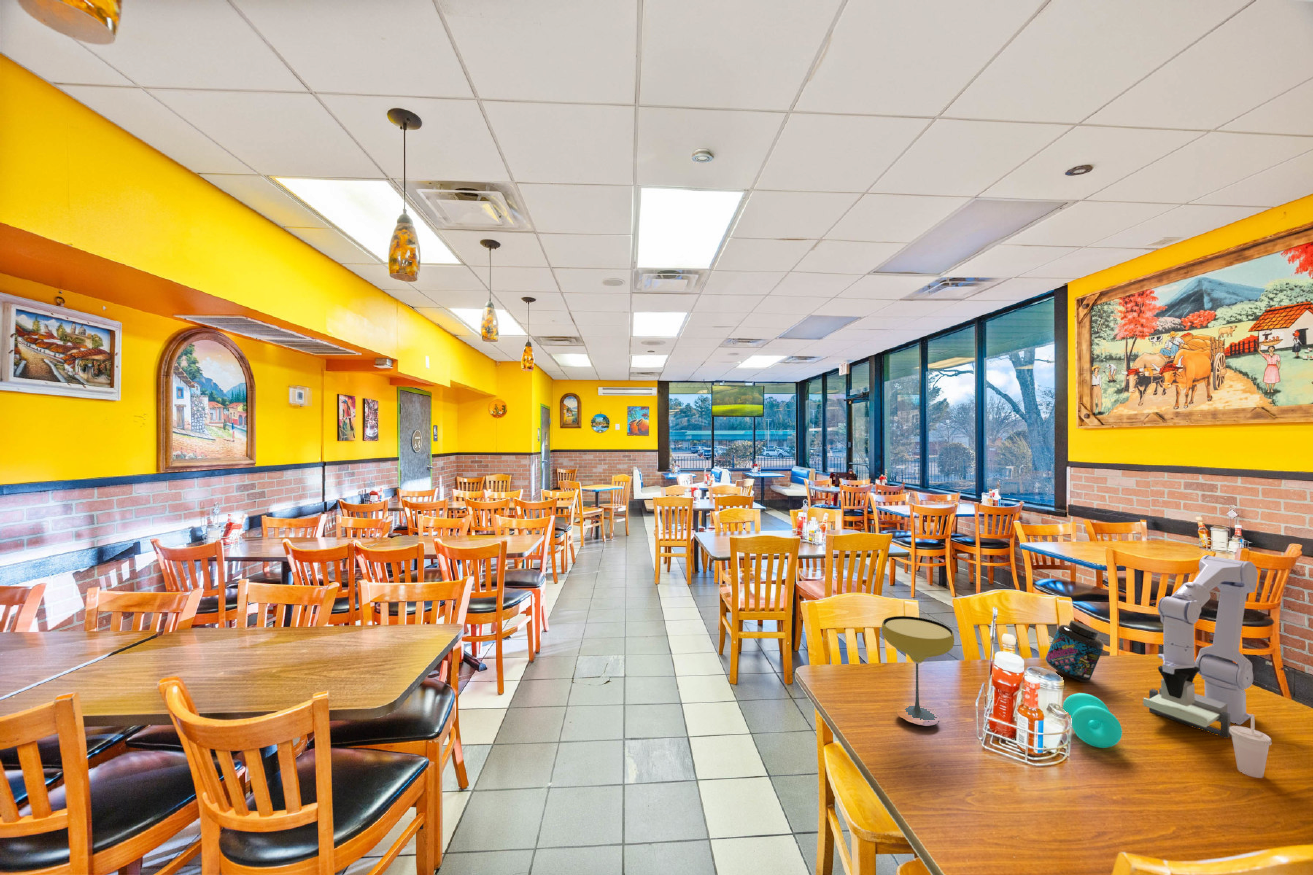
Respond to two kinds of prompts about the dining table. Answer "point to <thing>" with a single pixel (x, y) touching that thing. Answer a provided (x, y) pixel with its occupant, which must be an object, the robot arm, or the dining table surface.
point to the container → (1075, 650)
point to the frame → (1224, 724)
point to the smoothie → (1250, 749)
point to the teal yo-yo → (1093, 720)
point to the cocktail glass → (918, 646)
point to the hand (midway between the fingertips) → (1179, 694)
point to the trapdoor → (1189, 709)
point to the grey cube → (1187, 694)
